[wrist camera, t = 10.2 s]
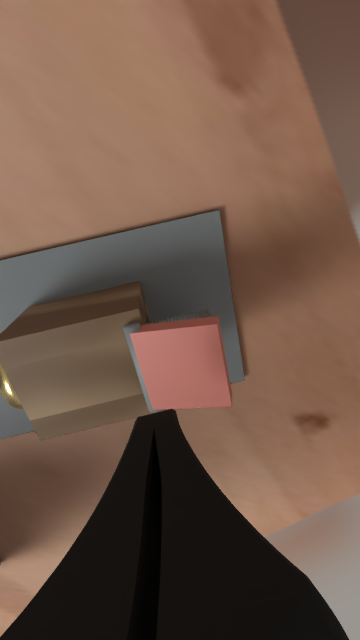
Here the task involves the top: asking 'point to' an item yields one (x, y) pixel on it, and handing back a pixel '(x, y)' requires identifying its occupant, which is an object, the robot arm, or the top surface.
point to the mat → (129, 281)
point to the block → (76, 360)
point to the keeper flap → (180, 363)
